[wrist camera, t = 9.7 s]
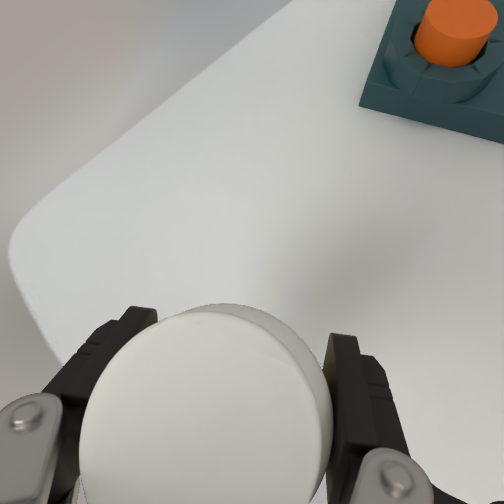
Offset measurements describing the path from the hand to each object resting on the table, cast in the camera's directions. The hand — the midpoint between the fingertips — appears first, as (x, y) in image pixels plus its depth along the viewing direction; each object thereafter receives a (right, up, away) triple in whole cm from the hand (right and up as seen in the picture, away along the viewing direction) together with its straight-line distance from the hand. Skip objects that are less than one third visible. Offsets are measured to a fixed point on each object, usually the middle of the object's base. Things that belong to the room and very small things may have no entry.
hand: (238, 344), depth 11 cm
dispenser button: (+13, +16, +11) cm, 24 cm away
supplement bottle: (0, -3, +4) cm, 5 cm away
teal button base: (+17, +17, +15) cm, 28 cm away
